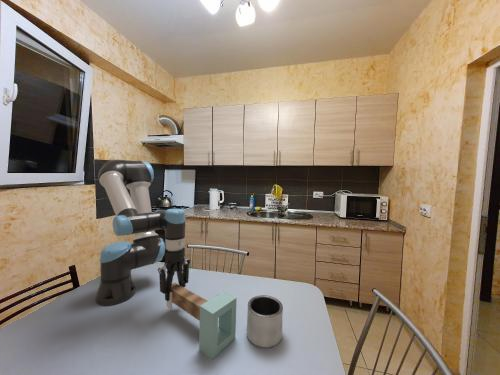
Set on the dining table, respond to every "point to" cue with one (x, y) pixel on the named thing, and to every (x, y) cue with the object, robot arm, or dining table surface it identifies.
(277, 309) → the planter
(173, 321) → the dining table surface
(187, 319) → the dining table surface
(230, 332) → the green rectangular frame
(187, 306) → the brown wooden long bar
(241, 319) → the dining table surface
